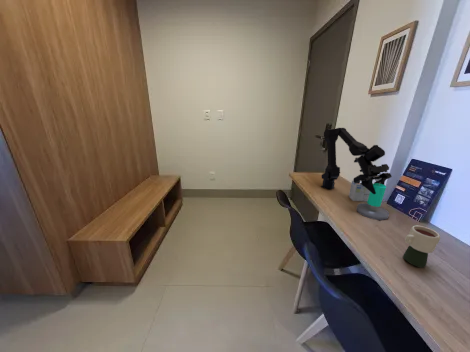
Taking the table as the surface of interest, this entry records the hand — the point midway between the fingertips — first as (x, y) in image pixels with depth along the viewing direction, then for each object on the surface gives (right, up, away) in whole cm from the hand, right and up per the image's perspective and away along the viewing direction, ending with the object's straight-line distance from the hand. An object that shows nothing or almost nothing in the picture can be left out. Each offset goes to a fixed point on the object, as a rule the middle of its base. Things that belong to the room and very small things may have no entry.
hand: (379, 193), depth 100 cm
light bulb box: (+3, -5, +21) cm, 22 cm away
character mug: (-8, -22, -28) cm, 37 cm away
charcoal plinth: (-1, -11, +5) cm, 12 cm away
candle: (0, -6, +4) cm, 7 cm away
